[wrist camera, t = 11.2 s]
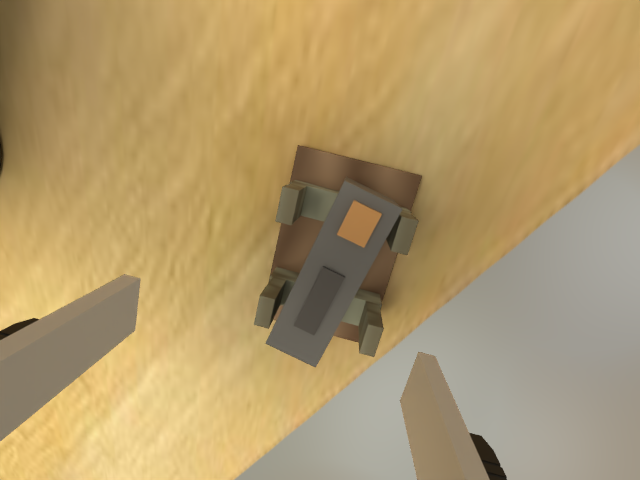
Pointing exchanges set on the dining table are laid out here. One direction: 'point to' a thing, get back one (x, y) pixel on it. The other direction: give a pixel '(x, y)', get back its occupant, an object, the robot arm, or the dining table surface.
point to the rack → (306, 222)
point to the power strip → (333, 271)
